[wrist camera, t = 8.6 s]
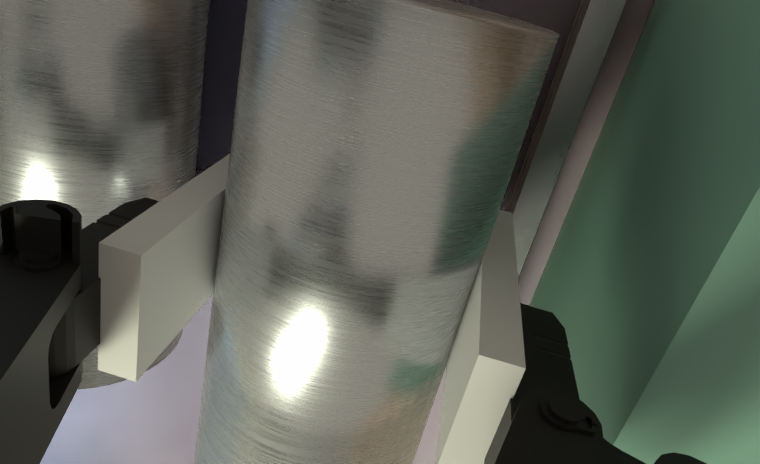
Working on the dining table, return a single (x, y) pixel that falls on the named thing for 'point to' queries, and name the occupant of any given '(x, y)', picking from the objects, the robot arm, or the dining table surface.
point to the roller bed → (100, 107)
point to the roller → (357, 220)
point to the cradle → (561, 116)
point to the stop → (671, 243)
